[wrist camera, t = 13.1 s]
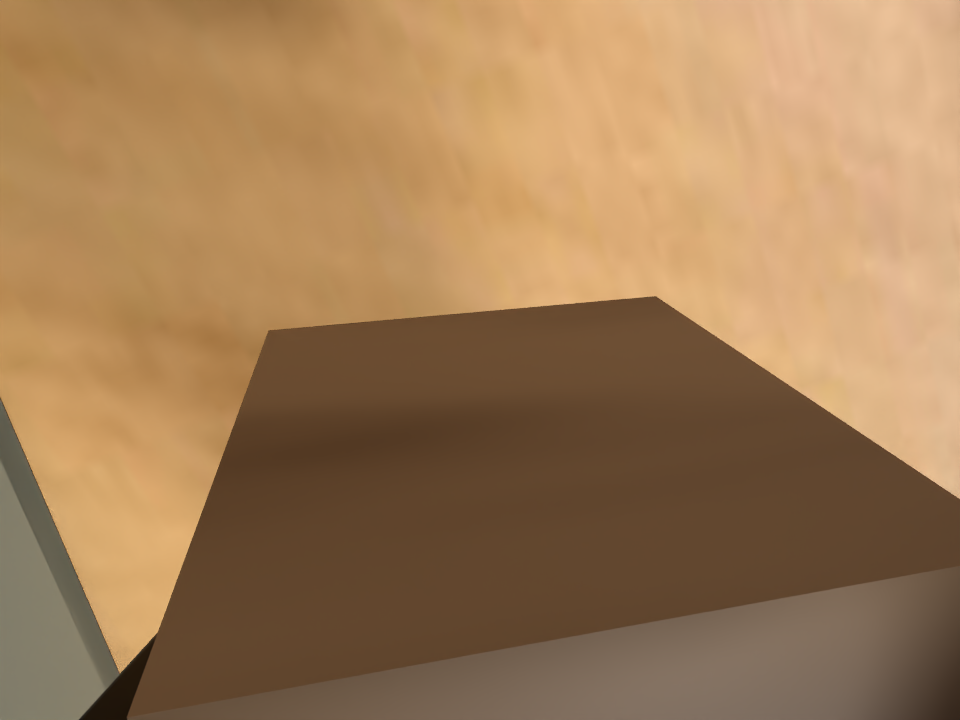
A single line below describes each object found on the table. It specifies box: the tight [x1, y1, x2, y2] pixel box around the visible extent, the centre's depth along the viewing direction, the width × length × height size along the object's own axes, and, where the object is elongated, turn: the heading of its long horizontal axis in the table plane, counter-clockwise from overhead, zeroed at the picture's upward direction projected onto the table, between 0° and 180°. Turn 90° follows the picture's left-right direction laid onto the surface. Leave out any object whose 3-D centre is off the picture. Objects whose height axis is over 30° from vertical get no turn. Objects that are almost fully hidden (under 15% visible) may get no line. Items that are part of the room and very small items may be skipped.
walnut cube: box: [127, 296, 960, 720], centre depth 6 cm, size 5×5×5 cm
